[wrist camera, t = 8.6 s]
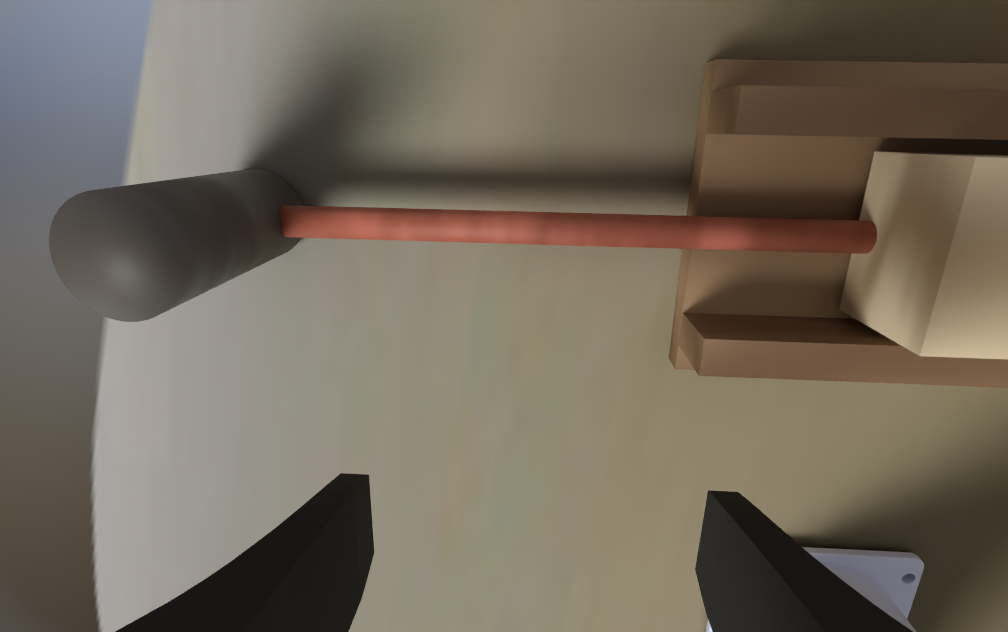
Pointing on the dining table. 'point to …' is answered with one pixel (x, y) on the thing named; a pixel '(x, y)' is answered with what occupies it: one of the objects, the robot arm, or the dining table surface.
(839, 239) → the grey and red rod
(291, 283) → the dining table surface
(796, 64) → the lane tray
